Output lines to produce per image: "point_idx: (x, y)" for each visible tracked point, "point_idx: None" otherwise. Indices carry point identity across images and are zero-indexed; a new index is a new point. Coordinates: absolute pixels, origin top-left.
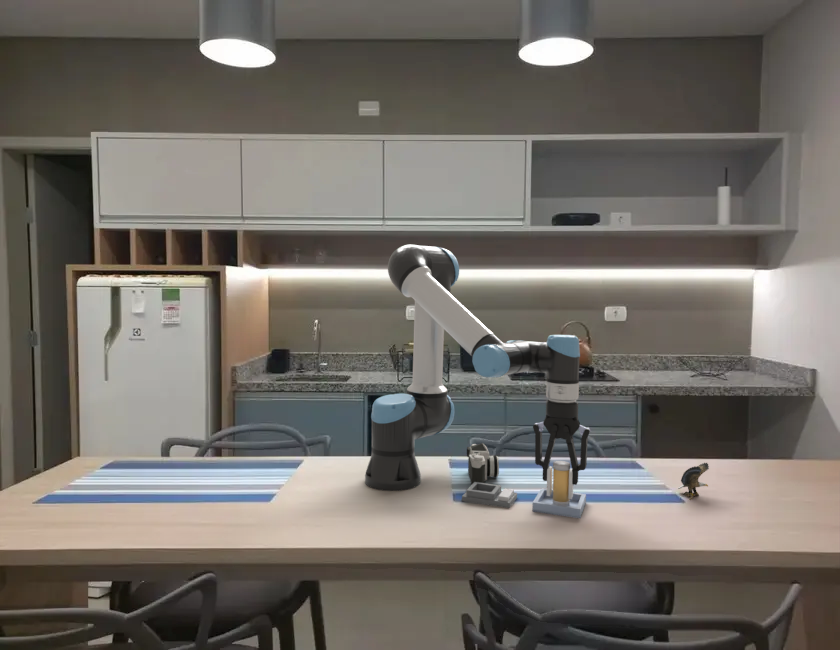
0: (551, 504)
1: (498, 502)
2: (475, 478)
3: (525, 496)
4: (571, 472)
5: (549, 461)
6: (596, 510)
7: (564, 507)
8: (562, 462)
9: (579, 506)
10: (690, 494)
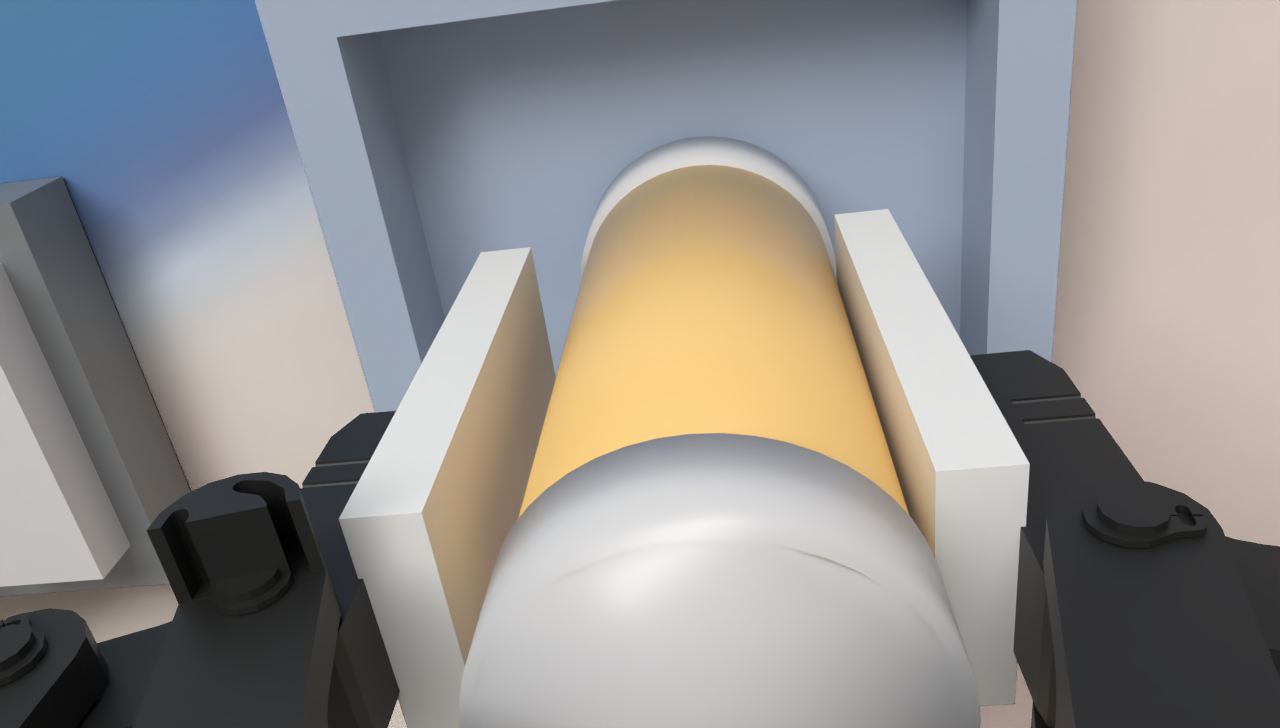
0: None
1: (57, 586)
2: None
3: (92, 13)
4: (993, 700)
5: (321, 678)
6: (1198, 52)
7: None
8: (716, 656)
9: None
10: None
